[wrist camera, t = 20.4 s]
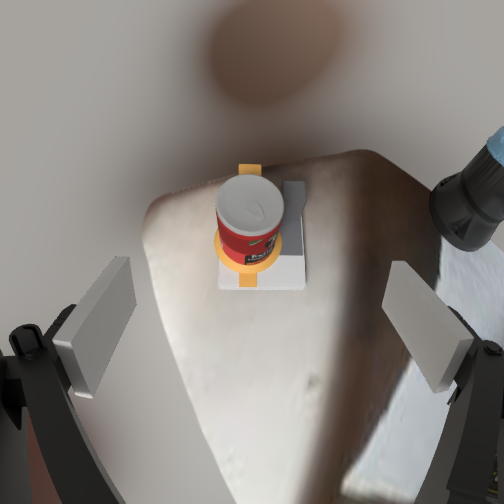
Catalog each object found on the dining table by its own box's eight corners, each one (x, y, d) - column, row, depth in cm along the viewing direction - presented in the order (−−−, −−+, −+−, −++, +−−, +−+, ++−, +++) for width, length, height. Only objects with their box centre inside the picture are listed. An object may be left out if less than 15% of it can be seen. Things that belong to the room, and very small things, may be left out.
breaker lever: (258, 190, 49) (261, 164, 43) (258, 207, 48) (261, 182, 42) (238, 189, 49) (239, 164, 43) (238, 206, 48) (238, 182, 42)
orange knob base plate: (297, 204, 51) (307, 175, 43) (303, 291, 46) (316, 274, 38) (217, 202, 50) (214, 172, 43) (213, 290, 45) (208, 272, 38)
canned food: (252, 278, 44) (256, 247, 33) (208, 243, 45) (200, 204, 35) (285, 239, 46) (298, 199, 36) (242, 207, 48) (244, 162, 37)
